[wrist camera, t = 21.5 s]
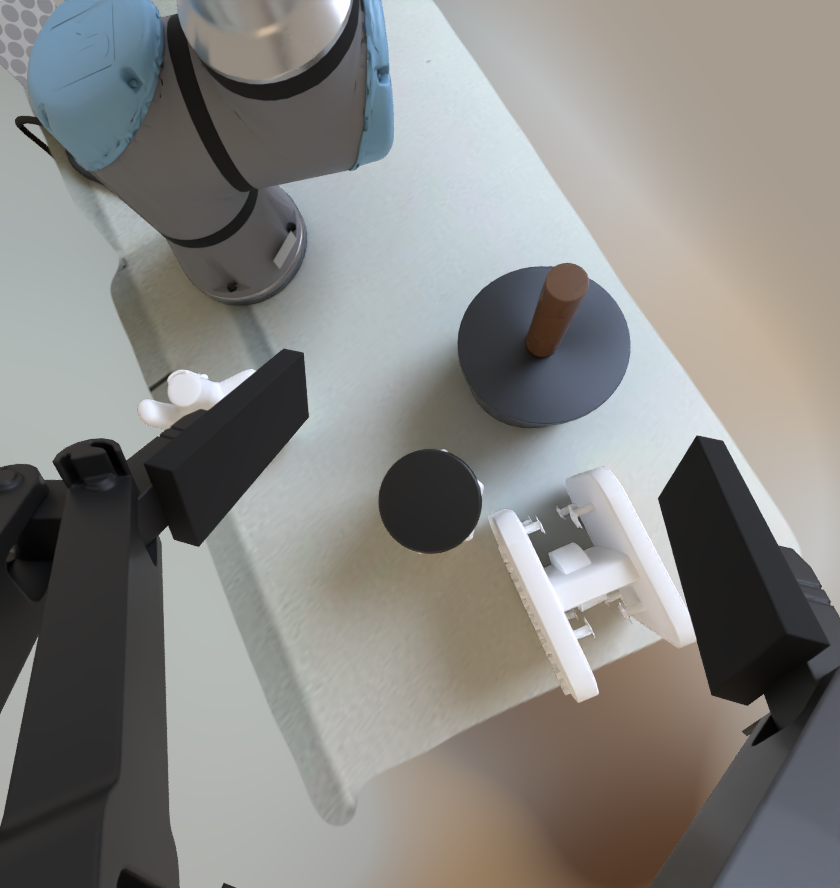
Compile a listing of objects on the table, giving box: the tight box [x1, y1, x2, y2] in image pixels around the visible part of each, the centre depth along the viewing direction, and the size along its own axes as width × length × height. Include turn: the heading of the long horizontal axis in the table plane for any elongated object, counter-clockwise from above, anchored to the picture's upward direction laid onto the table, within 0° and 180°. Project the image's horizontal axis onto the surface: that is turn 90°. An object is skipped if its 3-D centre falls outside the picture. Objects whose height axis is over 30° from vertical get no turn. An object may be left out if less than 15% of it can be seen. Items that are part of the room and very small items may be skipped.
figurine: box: [137, 369, 256, 430], centre depth 41 cm, size 7×9×15 cm
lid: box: [458, 263, 630, 425], centre depth 33 cm, size 14×14×10 cm
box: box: [0, 0, 57, 90], centre depth 45 cm, size 8×8×25 cm
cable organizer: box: [488, 467, 697, 703], centre depth 37 cm, size 15×11×12 cm
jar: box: [379, 449, 484, 554], centre depth 39 cm, size 9×8×12 cm
